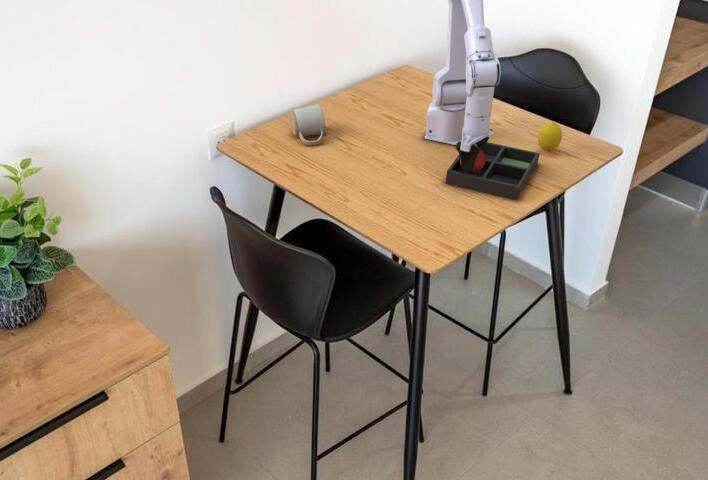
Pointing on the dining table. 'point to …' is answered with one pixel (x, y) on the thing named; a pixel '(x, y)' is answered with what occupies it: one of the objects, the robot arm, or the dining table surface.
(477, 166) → the onion
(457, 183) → the divided tray
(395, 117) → the dining table surface
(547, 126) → the lemon
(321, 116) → the ceramic mug
